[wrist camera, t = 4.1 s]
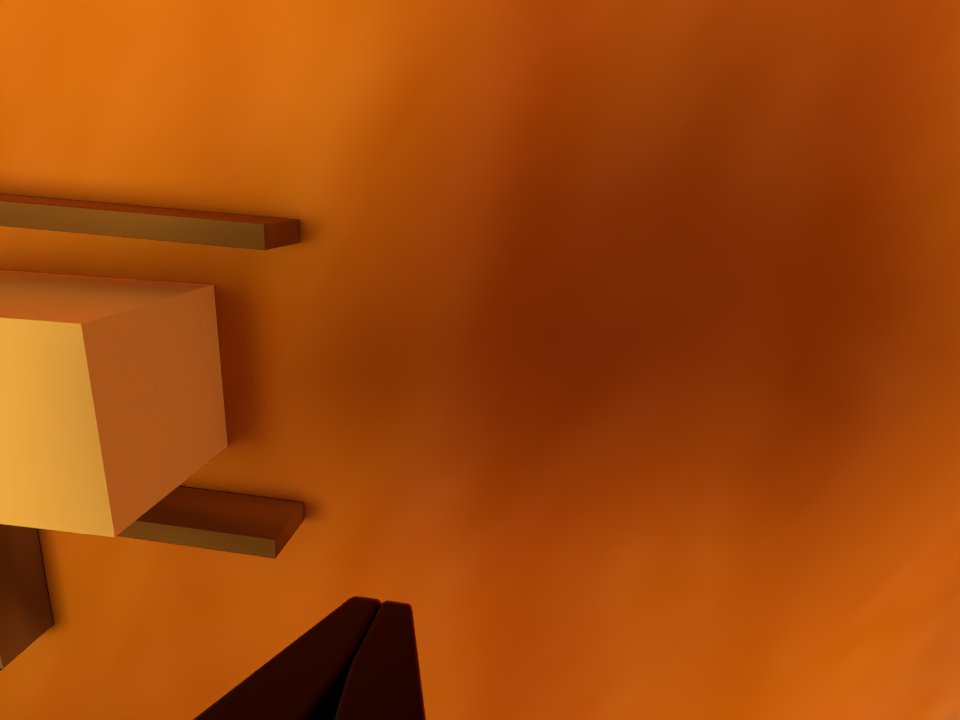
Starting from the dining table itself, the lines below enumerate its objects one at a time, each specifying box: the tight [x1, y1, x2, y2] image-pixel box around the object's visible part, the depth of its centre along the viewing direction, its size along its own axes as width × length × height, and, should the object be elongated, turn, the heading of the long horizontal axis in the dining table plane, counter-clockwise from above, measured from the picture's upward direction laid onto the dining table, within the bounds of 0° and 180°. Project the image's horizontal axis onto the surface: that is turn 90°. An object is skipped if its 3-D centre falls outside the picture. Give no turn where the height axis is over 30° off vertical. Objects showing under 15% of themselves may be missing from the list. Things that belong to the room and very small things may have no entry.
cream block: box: [0, 270, 228, 537], centre depth 15 cm, size 5×7×5 cm
